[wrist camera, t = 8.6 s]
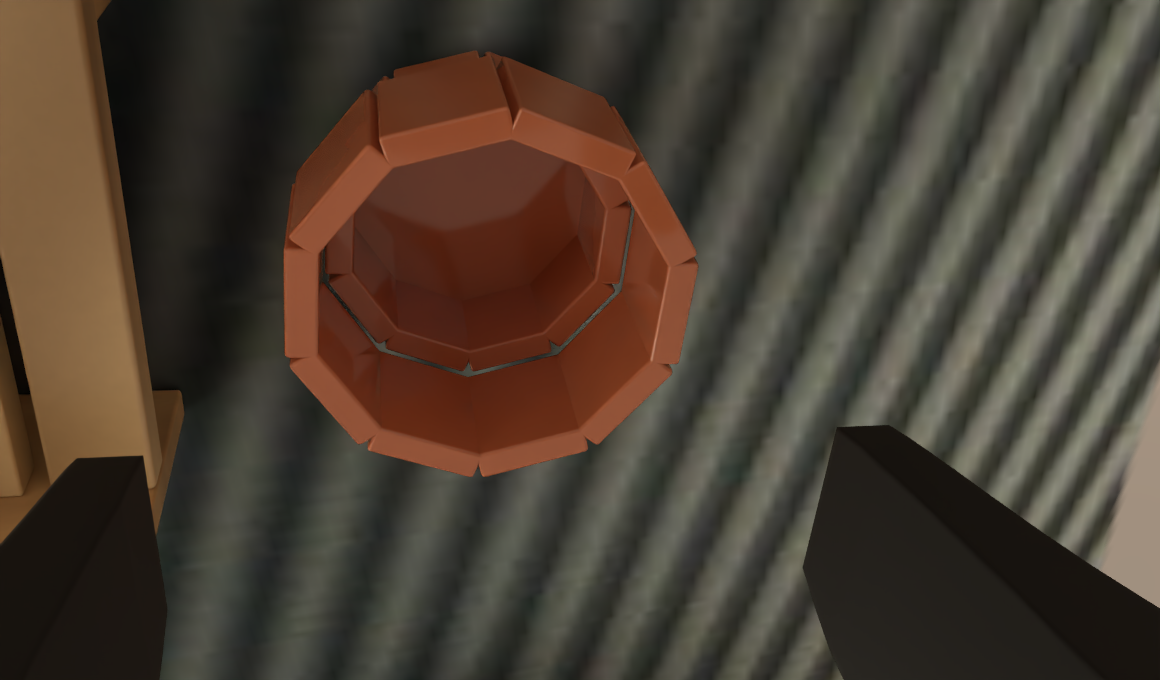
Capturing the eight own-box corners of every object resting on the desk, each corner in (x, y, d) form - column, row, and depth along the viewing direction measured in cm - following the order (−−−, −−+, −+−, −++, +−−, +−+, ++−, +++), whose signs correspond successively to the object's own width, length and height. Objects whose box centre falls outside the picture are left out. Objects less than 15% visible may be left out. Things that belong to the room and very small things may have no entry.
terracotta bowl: (553, 360, 21) (594, 511, 18) (249, 265, 19) (222, 414, 15) (689, 96, 19) (770, 205, 15) (360, -43, 17) (360, 44, 13)
